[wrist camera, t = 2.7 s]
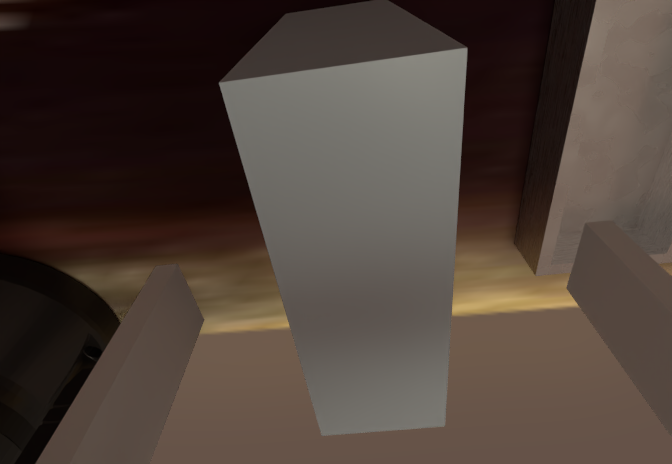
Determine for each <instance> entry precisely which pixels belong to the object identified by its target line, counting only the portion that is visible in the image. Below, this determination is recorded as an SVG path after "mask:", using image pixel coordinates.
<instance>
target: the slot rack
mask: <svg viewBox="0 0 672 464" xmlns="http://www.w3.org/2000/svg"><path fill="white" fill-rule="evenodd" d="M608 220H612V221H613V222H614V223H615V224H616V225H617V226H618V227H619V228H620V229H621V230H622V231H623V232H624V233H626V234H627V235H628V236H629V237H630V238H631V239H632V240H633V241H634V242H635V243H636V244H637V245H638V246H639V247H641V248H642V249H643V250H644V251H645V252H646V253H647V254H648V255H649V256H650V257H651V258H652V259H653V260H654V261H656V262H657V263H658V264H659V263H669V262H672V0H555V4H554V10H553V16H552V22H551V28H550V34H549V40H548V46H547V52H546V58H545V64H544V70H543V76H542V82H541V88H540V94H539V99H538V105H537V111H536V117H535V123H534V129H533V135H532V141H531V147H530V153H529V159H528V165H527V171H526V177H525V183H524V189H523V195H522V201H521V207H520V213H519V218H518V224H517V230H516V236H515V242H514V244H515V246H516V247H517V249H518V250H519V252H520V253H521V255H522V256H523V258H524V259H525V261H526V262H527V264H528V265H529V267H530V268H531V270H532V271H533V273H534V275H535V276H540V275H550V274H560V273H570V272H571V271H572V267H573V264H574V260H575V257H576V253H577V250H578V246H579V243H580V240H581V236H582V233H583V229H584V226H585V223H588V222H598V221H608Z"/></svg>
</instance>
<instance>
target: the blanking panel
mask: <svg viewBox="0 0 672 464" xmlns="http://www.w3.org/2000/svg"><path fill="white" fill-rule="evenodd" d="M466 63H467V47H466V46H464V45H462V44H460V43H459V42H457V41H455V40H454V39H452V38H450V37H449V36H447V35H445V34H444V33H442V32H440V31H439V30H437V29H435V28H434V27H432V26H430V25H429V24H427V23H425V22H424V21H422V20H420V19H418V18H417V17H415V16H413V15H412V14H410V13H408V12H407V11H405V10H403V9H402V8H400V7H398V6H397V5H395V4H393V3H392V2H390V1H388V0H373V1H367V2H360V3H353V4H347V5H340V6H334V7H327V8H320V9H314V10H307V11H301V12H294V13H287V14H285V15H284V16H283V17H282V18H281V19H280V20H279V21H278V22H277V23H276V24H275V25H274V26H273V27H272V29H271V30H270V31H269V32H268V33H267V34H266V35H265V36H264V37H263V38H262V39H261V40H260V41H259V42H258V43H257V44H256V45H255V46H254V47H253V48H252V49H251V50H250V51H249V52H248V53H247V54H246V55H245V56H244V57H243V58H242V59H241V60H240V61H239V62H238V64H237V65H236V66H235V67H234V68H233V69H232V70H231V71H230V72H229V73H228V74H227V75H226V76H225V77H224V78H223V79H222V80H221V81H220V82H219V85H220V88H221V92H222V95H223V99H224V102H225V106H226V109H227V112H228V116H229V119H230V123H231V126H232V130H233V133H234V136H235V140H236V143H237V147H238V150H239V154H240V157H241V160H242V164H243V167H244V171H245V174H246V178H247V181H248V184H249V188H250V191H251V195H252V198H253V202H254V205H255V208H256V212H257V215H258V219H259V222H260V226H261V229H262V232H263V236H264V239H265V243H266V246H267V250H268V253H269V256H270V260H271V263H272V267H273V270H274V274H275V277H276V281H277V284H278V287H279V291H280V294H281V298H282V301H283V305H284V308H285V311H286V315H287V318H288V322H289V325H290V329H291V332H292V335H293V339H294V342H295V346H296V349H297V352H298V356H299V359H300V363H301V366H302V370H303V373H304V376H305V380H306V383H307V387H308V390H309V393H310V397H311V401H312V404H313V407H314V411H315V414H316V417H317V421H318V424H319V428H320V431H321V435H322V436H325V435H339V434H351V433H364V432H377V431H390V430H403V429H415V428H428V427H441V426H445V416H446V399H447V382H448V366H449V349H450V332H451V315H452V298H453V282H454V265H455V248H456V231H457V215H458V198H459V181H460V164H461V147H462V131H463V114H464V97H465V80H466Z"/></svg>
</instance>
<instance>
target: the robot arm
mask: <svg viewBox="0 0 672 464" xmlns="http://www.w3.org/2000/svg"><path fill="white" fill-rule="evenodd" d="M567 290H568V291H569V292H570V294H571V295H572V297H573V298H574V299H575V301H576V302H577V304H578V305H579V307H580V308H581V309H582V311H583V312H584V314H585V315H586V316H587V318H588V319H589V321H590V322H591V324H592V325H593V326H594V328H595V329H596V331H597V332H598V333H599V335H600V336H601V338H602V339H603V341H604V342H605V343H606V345H607V346H608V348H609V349H610V350H611V352H612V353H613V355H614V356H615V357H616V359H617V360H618V362H619V363H620V364H621V366H622V367H623V369H624V370H625V372H626V373H627V375H628V376H629V377H630V379H631V380H632V381H633V383H634V384H635V386H636V387H637V389H638V390H639V392H640V393H641V394H642V396H643V397H644V398H645V400H646V401H647V403H648V404H649V406H650V407H651V409H652V410H653V411H654V413H655V414H656V416H657V417H658V418H659V420H660V421H661V423H662V424H663V425H664V427H665V428H666V430H667V431H668V432H669V434H670V435H671V437H672V276H671V275H669V274H668V273H667V272H666V271H665V270H664V269H663V268H662V267H661V266H660V265H659V264H658V263H657V262H656V261H654V260H653V259H652V258H651V257H650V256H649V255H648V254H647V253H646V252H645V251H644V250H643V249H642V248H641V247H639V246H638V245H637V244H636V243H635V242H634V241H633V240H632V239H631V238H630V237H629V236H628V235H627V234H626V233H624V232H623V231H622V230H621V229H620V228H619V227H618V226H617V225H616V224H615V223H614V222H613V221H612V220H608V221H598V222H588V223H585V226H584V229H583V233H582V236H581V240H580V243H579V246H578V250H577V253H576V257H575V260H574V264H573V267H572V271H571V274H570V278H569V281H568V285H567ZM203 322H204V318H203V316H202V314H201V312H200V310H199V308H198V306H197V304H196V301H195V299H194V297H193V295H192V293H191V291H190V289H189V287H188V285H187V282H186V280H185V278H184V276H183V274H182V272H181V270H180V268H179V265H178V264H170V265H160V266H155V268H154V270H153V271H152V273H151V275H150V276H149V278H148V280H147V281H146V283H145V285H144V286H143V288H142V289H141V291H140V293H139V294H138V296H137V298H136V299H135V301H134V303H133V304H132V306H131V308H130V309H129V311H128V312H127V314H126V316H125V317H124V319H123V321H122V322H121V324H119V323H118V321H117V319H116V317H115V316H114V314H113V313H112V312H111V310H110V309H109V308H108V307H107V306H106V305H105V304H104V302H103V301H102V300H100V299H99V298H98V297H97V296H96V295H95V294H94V293H92V292H91V291H90V290H88V289H87V288H86V287H84V286H83V285H81V284H80V283H78V282H77V281H75V280H73V279H72V278H70V277H68V276H66V275H64V274H62V273H60V272H58V271H56V270H54V269H51V268H49V267H47V266H44V265H41V264H39V263H36V262H33V261H29V260H26V259H22V258H18V257H14V256H8V255H2V254H0V464H150V461H151V459H152V456H153V454H154V451H155V448H156V445H157V443H158V440H159V438H160V435H161V432H162V430H163V427H164V424H165V422H166V419H167V417H168V414H169V411H170V409H171V406H172V403H173V401H174V398H175V396H176V393H177V390H178V388H179V384H180V382H181V380H182V377H183V375H184V372H185V369H186V367H187V364H188V361H189V359H190V356H191V353H192V351H193V348H194V346H195V343H196V340H197V338H198V335H199V332H200V330H201V327H202V324H203Z"/></svg>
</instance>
